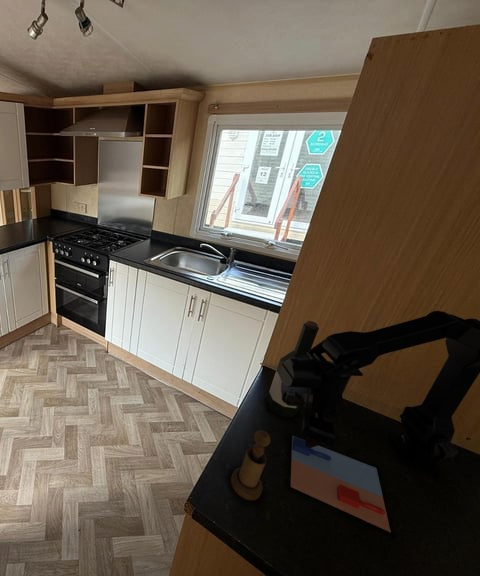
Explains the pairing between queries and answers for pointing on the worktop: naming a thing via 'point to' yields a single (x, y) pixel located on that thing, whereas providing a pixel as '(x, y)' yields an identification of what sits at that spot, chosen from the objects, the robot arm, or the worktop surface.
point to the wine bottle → (300, 352)
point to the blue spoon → (307, 449)
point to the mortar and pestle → (251, 469)
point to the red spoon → (355, 499)
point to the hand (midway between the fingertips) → (307, 432)
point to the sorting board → (339, 482)
